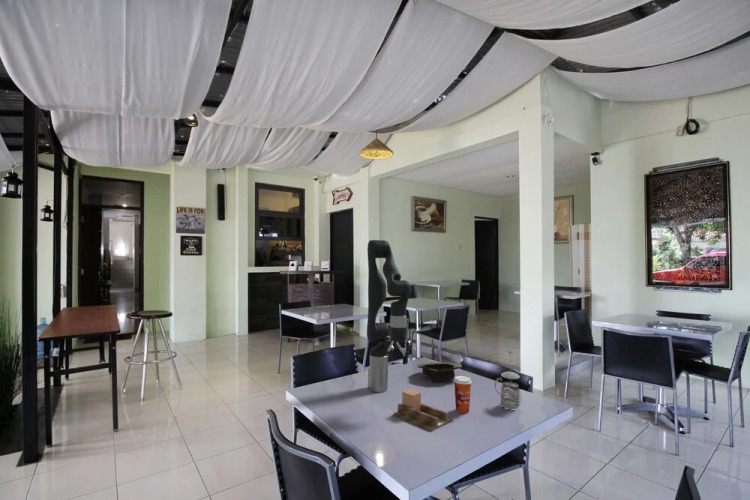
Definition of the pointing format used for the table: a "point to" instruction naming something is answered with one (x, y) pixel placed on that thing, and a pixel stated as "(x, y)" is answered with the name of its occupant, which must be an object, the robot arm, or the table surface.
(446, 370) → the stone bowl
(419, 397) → the block
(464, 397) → the paper cup
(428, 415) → the chute
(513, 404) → the french press
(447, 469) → the table surface
